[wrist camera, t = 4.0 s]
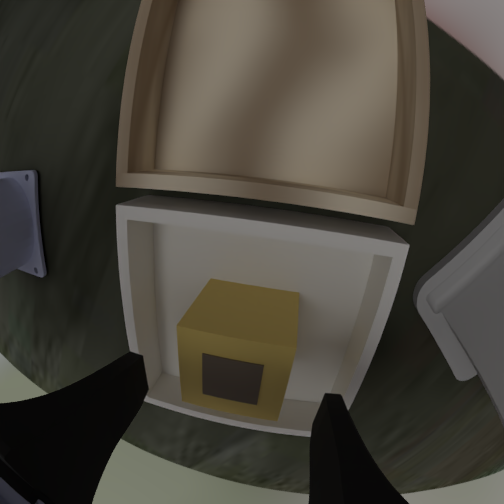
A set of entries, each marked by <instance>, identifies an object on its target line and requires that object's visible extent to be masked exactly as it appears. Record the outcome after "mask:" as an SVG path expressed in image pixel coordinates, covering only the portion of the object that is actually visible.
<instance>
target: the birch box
mask: <svg viewBox="0 0 504 504" xmlns="http://www.w3.org/2000/svg"><path fill="white" fill-rule="evenodd" d="M429 105H430V58H429V40H428V29H427V19H426V11H425V4H424V0H142V1H141V5H140V8H139V12H138V16H137V20H136V24H135V28H134V32H133V37H132V41H131V46H130V51H129V56H128V62H127V68H126V74H125V80H124V87H123V94H122V102H121V111H120V121H119V132H118V146H117V166H116V187H130V188H145V189H159V190H172V191H183V192H194V193H205V194H215V195H224V196H233V197H242V198H250V199H258V200H266V201H274V202H281V203H288V204H296V205H302V206H309V207H316V208H322V209H329V210H335V211H341V212H347V213H353V214H358V215H364V216H370V217H375V218H381V219H386V220H391V221H396V222H401V223H406V224H411V225H414V223H415V218H416V213H417V208H418V203H419V197H420V191H421V185H422V179H423V172H424V164H425V156H426V147H427V137H428V124H429Z"/></svg>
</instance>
